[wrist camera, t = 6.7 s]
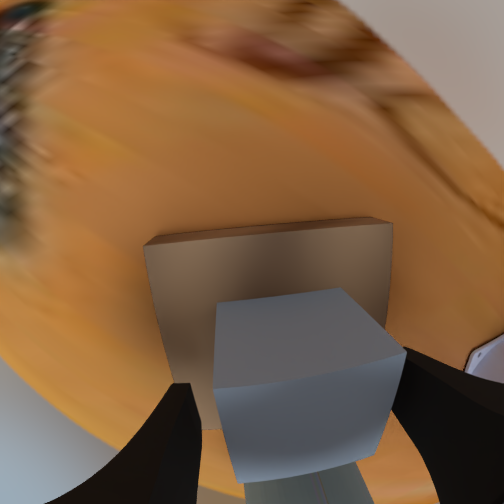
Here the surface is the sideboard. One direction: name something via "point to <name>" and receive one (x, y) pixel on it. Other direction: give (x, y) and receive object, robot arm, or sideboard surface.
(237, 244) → the base slab
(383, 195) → the sideboard surface
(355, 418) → the cube
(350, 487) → the bottle
